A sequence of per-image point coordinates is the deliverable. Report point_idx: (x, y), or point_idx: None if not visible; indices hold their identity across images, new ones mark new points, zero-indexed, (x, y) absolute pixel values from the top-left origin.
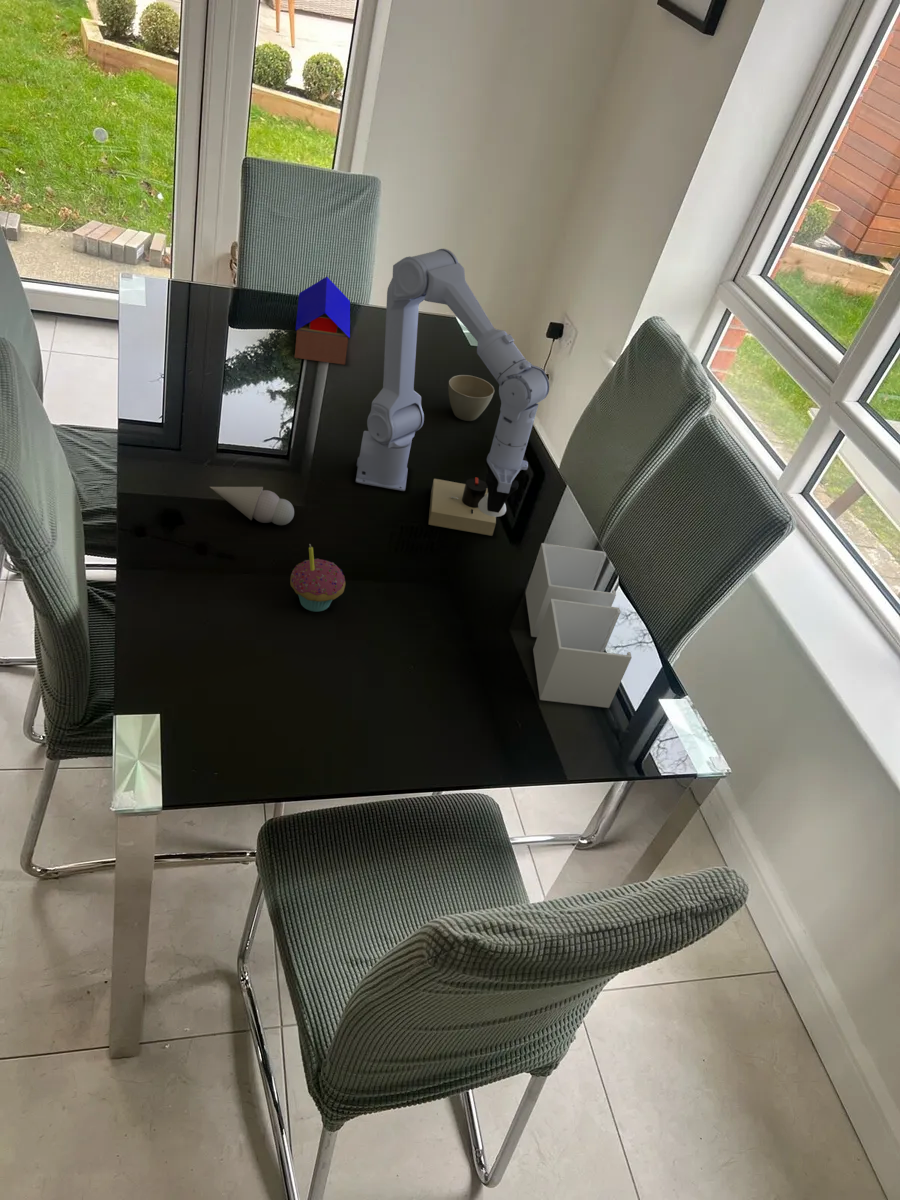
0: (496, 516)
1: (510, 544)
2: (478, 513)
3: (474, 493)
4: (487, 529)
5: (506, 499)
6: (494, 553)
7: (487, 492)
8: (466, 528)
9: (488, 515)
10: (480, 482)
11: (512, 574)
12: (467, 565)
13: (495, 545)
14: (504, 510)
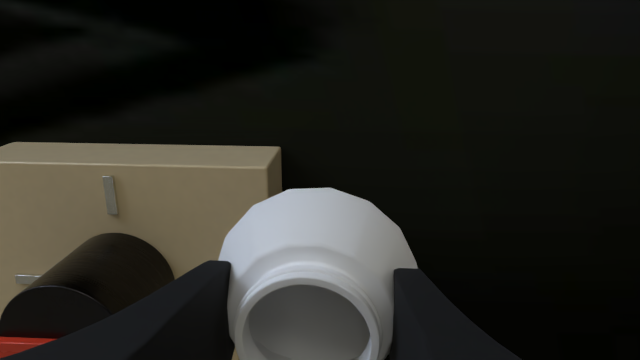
0: (413, 257)
1: (320, 56)
2: (213, 254)
3: None
4: (276, 184)
5: (495, 341)
6: (413, 138)
7: (5, 204)
8: None
9: (212, 205)
10: (29, 324)
11: (566, 51)
12: (527, 258)
13: (349, 132)
14: (361, 216)
